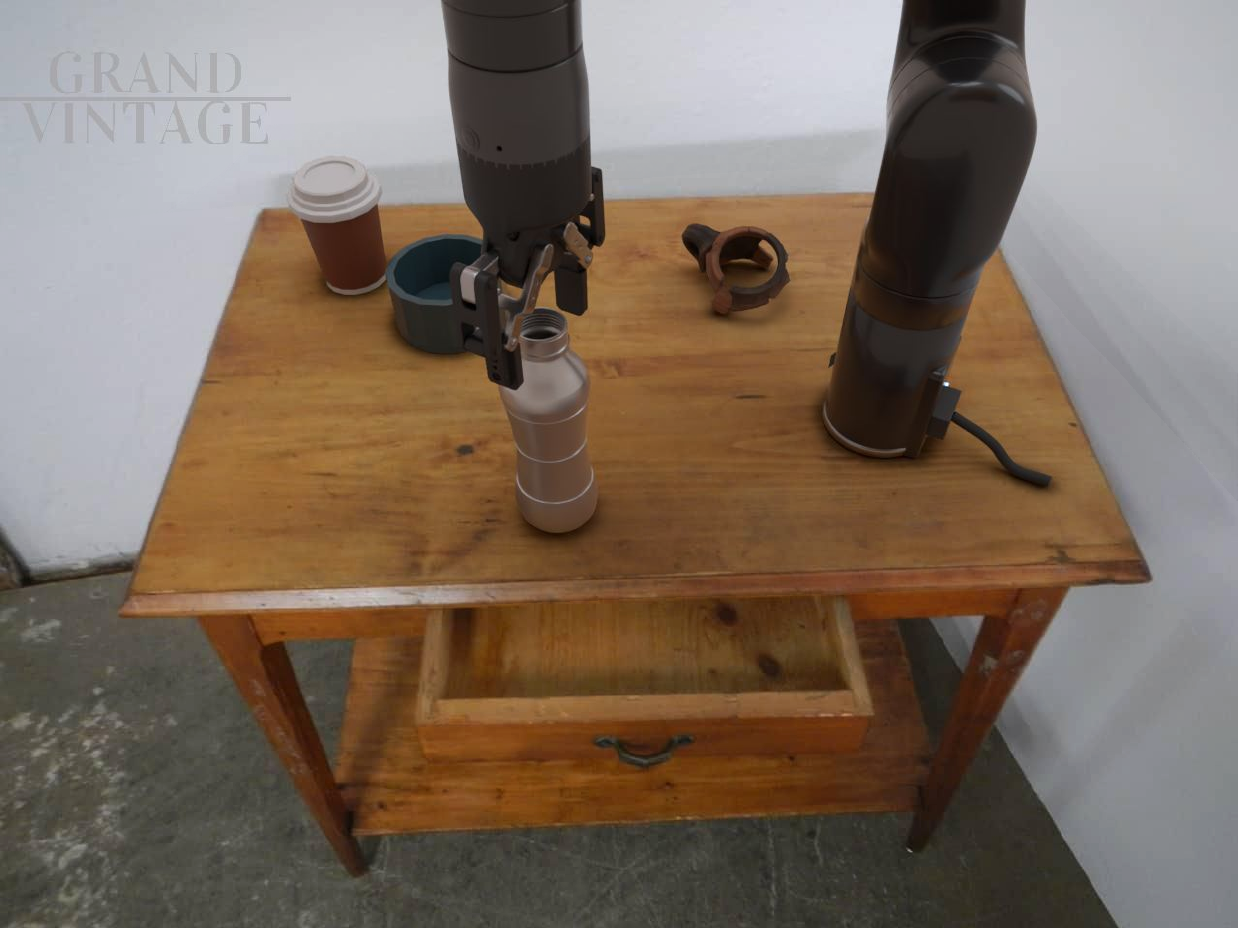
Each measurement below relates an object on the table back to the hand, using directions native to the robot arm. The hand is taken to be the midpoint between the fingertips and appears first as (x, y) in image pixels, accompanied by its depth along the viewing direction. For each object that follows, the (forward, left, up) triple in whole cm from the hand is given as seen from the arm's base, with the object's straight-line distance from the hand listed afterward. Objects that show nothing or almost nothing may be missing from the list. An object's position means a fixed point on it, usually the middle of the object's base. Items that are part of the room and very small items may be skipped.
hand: (541, 345), depth 64 cm
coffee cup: (+35, -18, -18) cm, 43 cm away
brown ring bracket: (-1, -34, -18) cm, 38 cm away
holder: (+22, -17, -18) cm, 33 cm away
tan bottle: (0, 0, -18) cm, 18 cm away
